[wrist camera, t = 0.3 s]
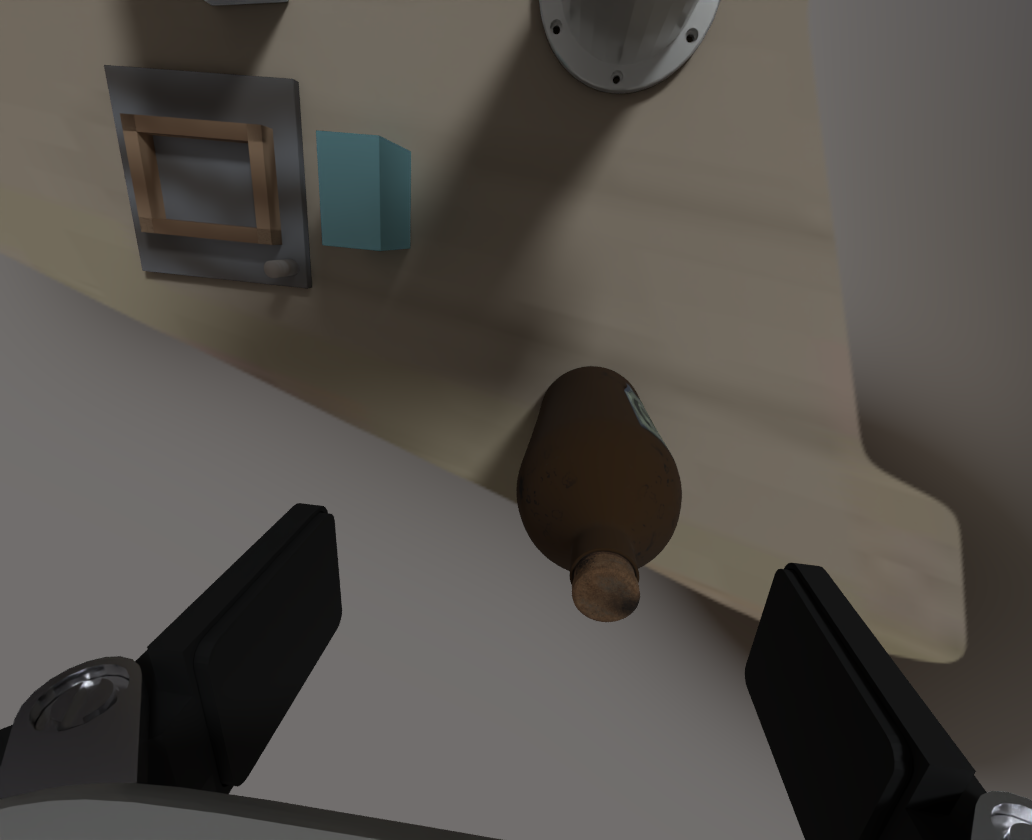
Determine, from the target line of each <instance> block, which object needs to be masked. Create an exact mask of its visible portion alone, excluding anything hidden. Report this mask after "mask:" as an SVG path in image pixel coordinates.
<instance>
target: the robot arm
mask: <svg viewBox="0 0 1032 840" xmlns="http://www.w3.org/2000/svg"><path fill="white" fill-rule="evenodd" d="M720 1H721V0H539V5H540V13H541V18H542V22H543V27H544V31H545V34H546V37H547V39H548V41H549V44H550V46H551V49H552V51H553V52H554V54H555V55H556V57H557V58H558V60H559V61H560V63H561V65H562V66H563V67H564V68H565V69H566V70H567V71H568V72H569V73H570V74H571V75H572V76H573V77H574V78H576V79H577V80H579V81H580V82H582V83H583V84H585V85H586V86H588V87H591V88H594V89H597V90H599V91H602V92H609V93H616V94H621V93H632V92H637V91H640V90H643V89H647V88H650V87H652V86H654V85H656V84H658V83H659V82H661V81H663V80H665V79H667V78H668V77H669V76H671V75H672V74H673V73H674V72H675V71H677V70H678V69H679V68H680V67H682V66H683V64H684V63H685V62H686V61H687V60H688V59H689V58H690V57H691V55H692V54H693V53H694V52H695V51H696V49H697V48H698V46H699V45H700V43H701V42H702V40H703V39H704V37H705V35H706V33H707V31H708V29H709V28H710V26H711V24H712V22H713V20H714V17H715V15H716V12H717V9H718V6H719V3H720ZM555 28H559V29H560V32H559V34H554V33H553V30H554V29H555ZM688 36H691V37H692V39H693V41H692V43H689V42H687V41H686V38H687V37H688ZM614 77H618V78H619V80H620V82H619V83H618V84H615V83H614V82H613V78H614ZM341 616H342V605H341V592H340V580H339V568H338V557H337V544H336V533H335V520H334V516H333V515H332V514H328V512H327V509H326V508H325V507H324V506H318V505H310V504H301V503H299V504H296V505H294V506H293V507H292V508H291V509H290V510H289V511H288V512H287V513H286V514H285V515H284V516H283V517H282V518H281V519H280V520H279V521H277V522H276V523H275V524H274V525H273V526H272V527H271V528H270V529H269V530H268V531H267V532H266V533H265V534H264V535H263V536H262V537H261V538H260V539H259V540H258V541H257V542H256V543H255V544H254V545H252V546H251V547H250V548H249V549H248V550H247V551H246V552H245V553H244V554H243V555H242V556H241V557H240V558H239V559H238V560H237V561H236V562H235V563H234V564H233V565H232V566H231V567H230V568H229V569H228V570H226V571H225V572H224V573H223V574H222V575H221V576H220V577H219V578H218V579H217V580H216V581H215V582H214V583H213V584H212V585H211V586H210V587H209V588H208V589H207V590H206V591H205V592H204V593H203V594H202V595H201V596H199V597H198V598H197V599H196V600H195V601H194V602H193V603H192V604H191V605H190V606H189V607H188V608H187V609H186V610H185V611H184V612H183V613H182V614H181V615H180V616H179V617H178V618H177V619H176V620H175V621H174V622H173V623H172V624H170V625H169V626H168V627H167V628H166V629H165V630H164V631H163V632H162V633H161V634H160V635H159V636H158V637H157V638H156V639H155V640H154V641H153V642H152V643H151V644H150V645H149V646H148V647H147V648H148V650H147V651H146V652H145V653H144V654H142V655H141V656H140V658H138V659H137V660H136V661H134V660H133V659H129V658H125V657H121V656H118V657H104V658H99V659H95V660H91V661H87V662H84V663H82V664H79V665H77V666H75V667H72V668H69V669H67V670H66V671H64V672H62V673H60V674H59V675H57V676H55V677H54V678H52V679H50V680H49V681H48V682H46V683H45V684H44V685H42V686H41V687H40V688H38V689H37V690H36V691H35V692H34V693H33V694H32V695H31V696H30V697H29V698H28V699H27V700H26V702H25V703H24V704H23V705H22V706H21V708H20V710H19V712H18V713H17V715H16V718H15V719H14V723H13V725H11V726H8V727H6V728H3V729H1V730H0V840H501V839H495V838H490V837H484V836H478V835H473V834H466V833H461V832H455V831H449V830H444V829H437V828H432V827H426V826H420V825H414V824H409V823H403V822H397V821H391V820H385V819H379V818H373V817H367V816H361V815H355V814H349V813H343V812H337V811H331V810H324V809H319V808H313V807H307V806H301V805H295V804H289V803H283V802H277V801H271V800H264V799H257V798H251V797H244V796H237V795H229V792H230V791H231V789H232V788H233V786H240V785H241V784H242V783H243V782H244V781H245V780H246V778H247V777H248V776H249V774H250V772H251V771H252V769H253V767H254V766H255V764H256V762H257V761H258V759H259V757H260V756H261V754H262V752H263V751H264V749H265V747H266V746H267V744H268V742H269V741H270V739H271V738H272V736H273V734H274V733H275V731H276V729H277V728H278V726H279V724H280V723H281V721H282V719H283V718H284V716H285V714H286V713H287V711H288V709H289V708H290V706H291V704H292V703H293V701H294V699H295V698H296V696H297V694H298V693H299V691H300V690H301V688H302V686H303V685H304V683H305V681H306V680H307V678H308V676H309V675H310V673H311V671H312V670H313V668H314V666H315V665H316V663H317V661H318V660H319V658H320V656H321V655H322V653H323V651H324V650H325V648H326V646H327V645H328V643H329V641H330V640H331V638H332V637H333V635H334V633H335V632H336V630H337V628H338V626H339V623H340V620H341ZM745 680H746V685H747V688H748V691H749V694H750V696H751V699H752V702H753V704H754V706H755V709H756V712H757V715H758V717H759V720H760V722H761V725H762V728H763V730H764V733H765V736H766V738H767V741H768V743H769V746H770V749H771V751H772V754H773V756H774V759H775V762H776V764H777V767H778V770H779V772H780V775H781V778H782V780H783V783H784V785H785V788H786V791H787V793H788V796H789V799H790V801H791V804H792V806H793V809H794V812H795V814H796V817H797V820H798V822H799V825H800V827H801V830H802V833H803V835H804V838H805V840H1032V801H1031V800H1030V799H1028V798H1024V797H1021V796H1018V795H1015V794H1012V793H1009V792H999V791H991V792H988V793H987V792H986V791H985V790H984V788H983V787H982V785H981V784H980V783H979V781H978V780H977V779H976V777H975V776H974V774H975V772H976V771H975V770H974V768H973V767H972V766H971V764H970V763H969V762H968V760H967V759H966V758H965V756H964V755H963V754H962V752H961V751H960V750H959V748H958V747H957V746H956V744H955V743H954V742H953V740H952V739H951V738H950V736H949V735H948V734H947V732H946V731H945V730H944V728H943V727H942V726H941V724H940V723H939V722H938V720H937V719H936V718H935V716H934V715H933V714H932V712H931V711H930V709H929V708H928V707H927V706H926V704H925V703H924V701H923V700H922V699H921V698H920V696H919V695H918V693H917V692H916V691H915V689H914V688H913V687H912V686H911V684H910V683H909V681H908V680H907V679H906V677H905V676H904V675H903V674H902V672H901V671H900V670H899V668H898V667H897V665H896V664H895V663H894V661H893V660H892V659H891V657H890V656H889V655H888V653H887V652H886V651H885V649H884V648H883V647H882V645H881V644H880V643H879V641H878V640H877V639H876V637H875V636H874V635H873V633H872V632H871V631H870V629H869V628H868V627H867V625H866V624H865V623H864V621H863V620H862V619H861V617H860V616H859V615H858V613H857V612H856V611H855V609H854V608H853V607H852V605H851V604H850V603H849V601H848V600H847V599H846V597H845V596H844V595H843V593H842V592H841V591H840V589H839V588H838V587H837V585H836V584H835V582H834V581H833V580H832V578H831V577H830V576H829V574H828V573H827V572H826V571H825V570H824V569H823V568H822V567H820V566H814V565H806V564H798V563H788V564H787V565H786V566H785V568H784V569H778V570H777V571H776V573H775V576H774V579H773V582H772V585H771V588H770V591H769V594H768V598H767V601H766V604H765V607H764V610H763V613H762V616H761V620H760V623H759V626H758V629H757V632H756V635H755V638H754V642H753V645H752V648H751V651H750V654H749V657H748V660H747V663H746V667H745Z"/></svg>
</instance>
